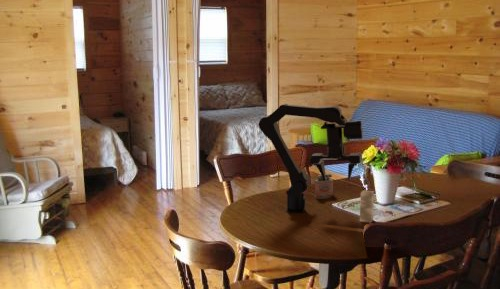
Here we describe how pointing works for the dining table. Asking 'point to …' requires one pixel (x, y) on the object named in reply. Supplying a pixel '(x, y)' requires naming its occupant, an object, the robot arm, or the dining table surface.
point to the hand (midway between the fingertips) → (337, 180)
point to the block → (366, 206)
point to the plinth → (377, 212)
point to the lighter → (323, 187)
